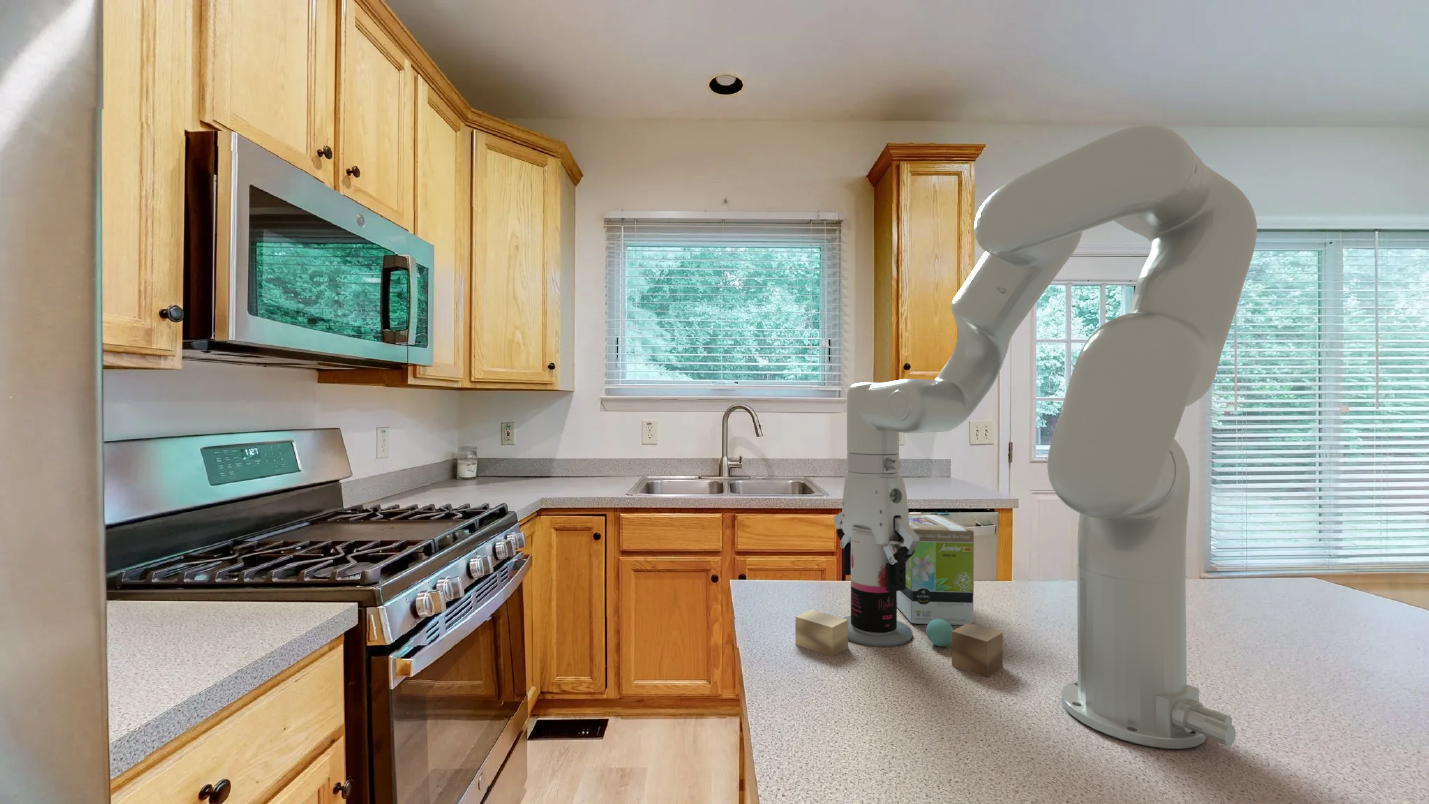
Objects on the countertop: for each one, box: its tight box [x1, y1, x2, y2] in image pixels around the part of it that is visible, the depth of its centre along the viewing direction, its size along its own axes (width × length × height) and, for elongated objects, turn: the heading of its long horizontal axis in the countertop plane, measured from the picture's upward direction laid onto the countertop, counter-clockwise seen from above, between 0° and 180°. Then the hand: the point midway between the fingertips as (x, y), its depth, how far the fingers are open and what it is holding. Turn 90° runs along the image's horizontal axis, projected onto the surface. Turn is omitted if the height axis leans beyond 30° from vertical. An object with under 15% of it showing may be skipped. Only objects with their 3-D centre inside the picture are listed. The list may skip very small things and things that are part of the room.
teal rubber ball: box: [925, 619, 954, 647], centre depth 82 cm, size 4×4×4 cm
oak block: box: [794, 609, 849, 658], centre depth 82 cm, size 6×4×4 cm, turn 46°
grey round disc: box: [842, 615, 913, 648], centre depth 87 cm, size 11×11×1 cm
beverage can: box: [850, 525, 898, 635], centre depth 87 cm, size 7×7×15 cm
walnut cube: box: [951, 623, 1004, 679], centre depth 75 cm, size 4×4×4 cm
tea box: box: [897, 513, 975, 626], centre depth 97 cm, size 15×10×15 cm, turn 179°
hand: (872, 581), depth 87 cm, fingers open, 9 cm apart
